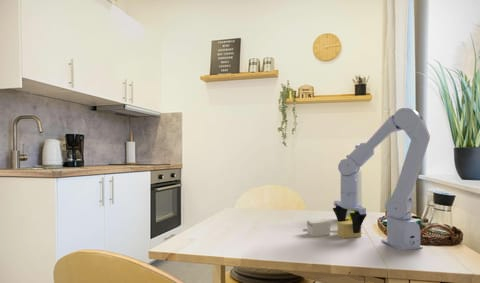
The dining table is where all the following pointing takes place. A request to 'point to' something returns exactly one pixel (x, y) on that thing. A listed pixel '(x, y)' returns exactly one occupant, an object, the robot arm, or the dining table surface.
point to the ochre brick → (347, 229)
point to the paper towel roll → (359, 192)
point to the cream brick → (318, 227)
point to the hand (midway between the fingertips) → (349, 229)
